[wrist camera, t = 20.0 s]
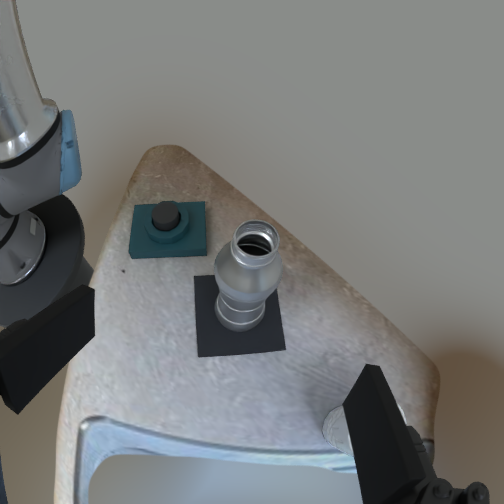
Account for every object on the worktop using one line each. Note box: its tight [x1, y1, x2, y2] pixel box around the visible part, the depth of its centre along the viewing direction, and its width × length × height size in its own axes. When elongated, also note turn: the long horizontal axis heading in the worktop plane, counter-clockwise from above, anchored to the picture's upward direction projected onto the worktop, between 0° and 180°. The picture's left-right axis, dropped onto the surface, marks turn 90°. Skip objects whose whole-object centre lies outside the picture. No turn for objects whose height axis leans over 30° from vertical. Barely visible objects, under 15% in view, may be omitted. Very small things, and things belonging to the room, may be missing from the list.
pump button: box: [152, 202, 179, 231], centre depth 41 cm, size 4×4×2 cm
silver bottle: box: [214, 219, 283, 332], centre depth 31 cm, size 6×7×20 cm
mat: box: [194, 275, 286, 357], centre depth 40 cm, size 12×12×1 cm
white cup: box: [322, 404, 406, 457], centre depth 29 cm, size 8×8×10 cm
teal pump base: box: [129, 201, 207, 259], centre depth 44 cm, size 12×9×4 cm
